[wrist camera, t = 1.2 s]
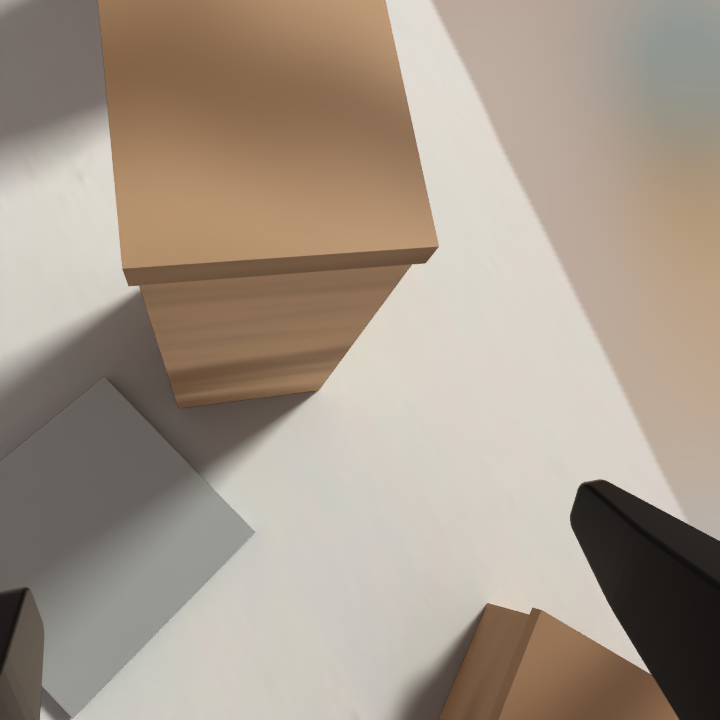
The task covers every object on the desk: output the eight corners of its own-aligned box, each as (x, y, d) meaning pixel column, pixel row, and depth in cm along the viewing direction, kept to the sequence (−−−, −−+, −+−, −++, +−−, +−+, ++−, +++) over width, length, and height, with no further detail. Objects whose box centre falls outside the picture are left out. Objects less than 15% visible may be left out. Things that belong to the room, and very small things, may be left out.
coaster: (254, 532, 23) (255, 532, 22) (75, 714, 20) (72, 718, 20) (106, 379, 23) (104, 376, 23) (-90, 539, 20) (-97, 539, 20)
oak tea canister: (323, 393, 25) (438, 246, 12) (174, 412, 23) (122, 268, 10) (301, 261, 26) (385, -2, 13) (159, 271, 25) (96, -13, 12)
